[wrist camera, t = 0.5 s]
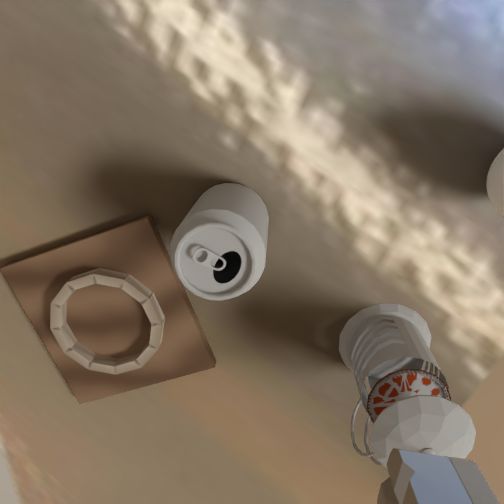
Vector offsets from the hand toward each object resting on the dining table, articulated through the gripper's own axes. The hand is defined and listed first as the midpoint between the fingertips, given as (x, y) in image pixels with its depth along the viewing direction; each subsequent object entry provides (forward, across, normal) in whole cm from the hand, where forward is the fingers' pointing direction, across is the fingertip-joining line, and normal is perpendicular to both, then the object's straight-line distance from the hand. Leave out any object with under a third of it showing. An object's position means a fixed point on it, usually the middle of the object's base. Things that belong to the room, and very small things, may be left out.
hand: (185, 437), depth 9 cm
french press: (+37, -15, +14) cm, 43 cm away
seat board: (+36, +14, +15) cm, 42 cm away
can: (+36, +3, +3) cm, 36 cm away
